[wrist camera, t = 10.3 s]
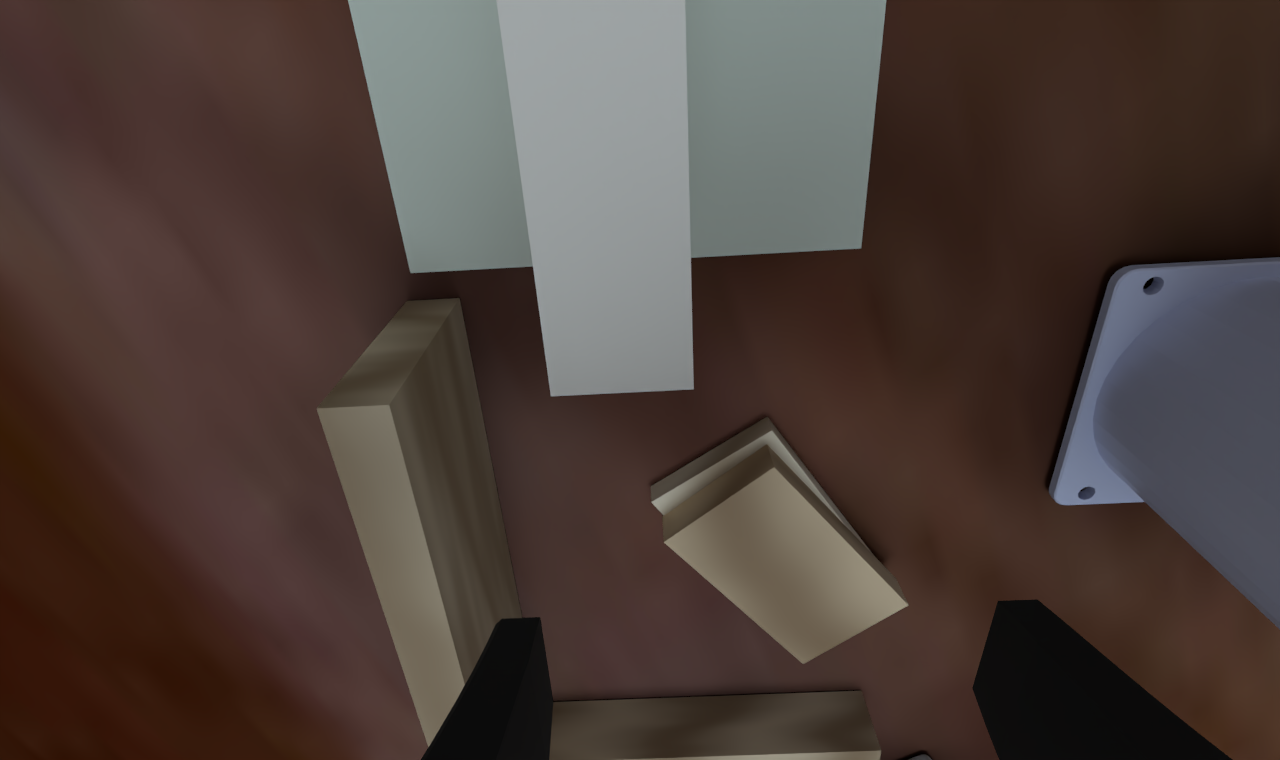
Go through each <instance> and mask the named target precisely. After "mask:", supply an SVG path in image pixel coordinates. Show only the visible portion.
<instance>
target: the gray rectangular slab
mask: <svg viewBox="0 0 1280 760" xmlns="http://www.w3.org/2000/svg"><path fill="white" fill-rule="evenodd" d="M496 2H497V9H498V16H499V23H500V31H501V38H502V45H503V52H504V60H505V67H506V74H507V81H508V89H509V96H510V103H511V111H512V118H513V125H514V132H515V140H516V147H517V154H518V161H519V169H520V176H521V183H522V191H523V198H524V205H525V212H526V220H527V227H528V234H529V241H530V249H531V256H532V263H533V270H534V278H535V285H536V292H537V300H538V307H539V314H540V321H541V329H542V336H543V343H544V350H545V358H546V365H547V372H548V379H549V387H550V394H551V396H569V395H589V394H609V393H630V392H650V391H670V390H690V389H694V381H693V335H692V289H691V243H690V197H689V151H688V105H687V59H686V13H685V0H496Z"/></svg>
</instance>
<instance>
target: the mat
mask: <svg viewBox="0 0 1280 760" xmlns="http://www.w3.org/2000/svg"><path fill="white" fill-rule="evenodd" d="M348 2H349V6H350V11H351V15H352V19H353V24H354V28H355V33H356V37H357V41H358V46H359V50H360V55H361V59H362V63H363V68H364V72H365V76H366V81H367V85H368V90H369V94H370V98H371V103H372V107H373V111H374V116H375V120H376V125H377V129H378V133H379V138H380V142H381V146H382V151H383V155H384V160H385V164H386V168H387V173H388V177H389V181H390V186H391V190H392V195H393V199H394V203H395V208H396V212H397V216H398V221H399V225H400V230H401V234H402V238H403V243H404V247H405V252H406V256H407V260H408V265H409V269H410V273H423V272H441V271H459V270H477V269H495V268H514V267H532V266H533V263H532V256H531V249H530V241H529V234H528V227H527V220H526V212H525V205H524V198H523V191H522V183H521V176H520V169H519V161H518V154H517V147H516V140H515V132H514V125H513V118H512V111H511V103H510V96H509V89H508V81H507V74H506V67H505V60H504V52H503V45H502V38H501V31H500V23H499V16H498V9H497V2H496V0H348ZM885 9H886V0H685V13H686V59H687V105H688V151H689V197H690V243H691V258H696V257H714V256H732V255H750V254H769V253H787V252H805V251H823V250H842V249H860V248H861V245H862V235H863V225H864V216H865V206H866V196H867V186H868V176H869V166H870V157H871V147H872V137H873V127H874V117H875V107H876V97H877V88H878V78H879V68H880V58H881V48H882V38H883V29H884V19H885Z"/></svg>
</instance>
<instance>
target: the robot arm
mask: <svg viewBox="0 0 1280 760" xmlns="http://www.w3.org/2000/svg"><path fill="white" fill-rule="evenodd" d="M1153 277H1154V281H1153V282H1152V284H1151V285H1150V286H1149V287H1148V288H1146V289H1143V286H1144V284H1145V283H1146V281H1148V280H1149V279H1150V278H1153ZM1084 487H1086V489H1084V490H1083V491H1080V490H1081V489H1083V488H1084ZM1049 494H1050V495H1051V497H1052V498H1053V499H1054V500H1055V501H1056V502H1057V503H1058V504H1060V505H1085V504H1107V503H1130V502H1146V503H1147V504H1148V505H1149V506H1150V507H1151V508H1152V509H1153V510H1154V511H1155V512H1156V513H1157V514H1158V515H1159V516H1161V517H1162V518H1163V519H1164V520H1165V521H1166V522H1167V523H1168V524H1169V525H1170V526H1171V527H1172V528H1173V529H1174V530H1175V531H1176V532H1177V533H1178V534H1180V535H1181V536H1182V537H1183V538H1184V539H1185V540H1186V541H1187V542H1188V543H1189V544H1190V545H1191V546H1192V547H1193V548H1194V549H1195V550H1196V551H1197V552H1199V553H1200V554H1201V555H1202V556H1203V557H1204V558H1205V559H1206V560H1207V561H1208V562H1209V563H1210V564H1211V565H1212V566H1213V567H1214V568H1215V569H1217V570H1218V571H1219V572H1220V573H1221V574H1222V575H1223V576H1224V577H1225V578H1226V579H1227V580H1228V581H1229V582H1230V583H1231V584H1232V585H1233V586H1234V587H1236V588H1237V589H1238V590H1239V591H1240V592H1241V593H1242V594H1243V595H1244V596H1245V597H1246V598H1247V599H1248V600H1249V601H1250V602H1251V603H1252V604H1253V605H1255V606H1256V607H1257V608H1258V609H1259V610H1260V611H1261V612H1262V613H1263V614H1264V615H1265V616H1266V617H1267V618H1268V619H1269V620H1270V621H1271V622H1272V623H1274V624H1275V625H1276V626H1277V627H1278V628H1279V629H1280V257H1274V258H1256V259H1237V260H1218V261H1200V262H1181V263H1162V264H1144V265H1130V266H1126V267H1123V268H1121V269H1119V270H1118V271H1116V272H1115V273H1114V274H1113V275H1112V277H1111V278H1110V280H1109V282H1108V285H1107V288H1106V292H1105V295H1104V299H1103V302H1102V306H1101V309H1100V313H1099V316H1098V319H1097V323H1096V326H1095V330H1094V333H1093V337H1092V340H1091V344H1090V347H1089V351H1088V354H1087V358H1086V361H1085V365H1084V368H1083V372H1082V375H1081V379H1080V382H1079V386H1078V389H1077V393H1076V396H1075V400H1074V403H1073V406H1072V410H1071V413H1070V417H1069V420H1068V424H1067V427H1066V431H1065V434H1064V438H1063V441H1062V445H1061V448H1060V452H1059V455H1058V459H1057V462H1056V466H1055V469H1054V473H1053V476H1052V480H1051V483H1050V487H1049ZM973 691H974V694H975V696H976V699H977V702H978V705H979V708H980V710H981V713H982V716H983V719H984V722H985V724H986V727H987V730H988V732H989V735H990V737H991V740H992V742H993V745H994V747H995V750H996V753H997V755H998V757H999V759H1000V760H1232V759H1231V758H1229V757H1228V756H1227V755H1226V754H1224V753H1223V752H1222V751H1220V750H1219V749H1218V748H1217V747H1215V746H1214V745H1213V744H1212V743H1210V742H1209V741H1208V740H1206V739H1205V738H1204V737H1203V736H1201V735H1200V734H1199V733H1197V732H1196V731H1195V730H1194V729H1192V728H1191V727H1190V726H1189V725H1187V724H1186V723H1185V722H1184V721H1183V720H1181V719H1180V718H1179V717H1178V716H1176V715H1175V714H1174V713H1173V712H1171V711H1170V710H1169V709H1168V708H1166V707H1165V706H1164V705H1163V704H1162V703H1160V702H1159V701H1158V700H1157V699H1155V698H1154V697H1153V696H1152V695H1151V694H1149V693H1148V692H1147V691H1146V690H1145V689H1143V688H1142V687H1141V686H1140V685H1139V684H1137V683H1136V682H1135V681H1134V680H1133V679H1131V678H1130V677H1129V676H1128V675H1127V674H1125V673H1124V672H1123V671H1122V670H1121V669H1119V668H1118V667H1117V666H1116V665H1115V664H1113V663H1112V662H1111V661H1110V660H1109V659H1108V658H1106V657H1105V656H1104V655H1103V654H1102V653H1100V652H1099V651H1098V650H1097V649H1096V648H1095V647H1093V646H1092V645H1091V644H1090V643H1089V642H1087V641H1086V640H1085V639H1084V638H1083V637H1082V636H1080V635H1079V634H1078V633H1077V632H1076V631H1074V630H1073V629H1072V628H1071V627H1070V626H1069V625H1067V624H1066V623H1065V622H1064V621H1063V620H1061V619H1060V618H1059V617H1058V616H1057V615H1055V614H1054V613H1053V612H1052V611H1051V610H1049V609H1048V608H1047V607H1046V606H1044V605H1043V604H1042V603H1041V602H1040V601H1038V600H1014V601H998V603H997V606H996V610H995V613H994V617H993V620H992V623H991V627H990V630H989V634H988V637H987V640H986V644H985V647H984V651H983V654H982V658H981V661H980V664H979V668H978V671H977V675H976V678H975V681H974V685H973ZM552 713H553V698H552V691H551V685H550V678H549V672H548V665H547V659H546V652H545V646H544V639H543V633H542V626H541V620H540V617H535V618H507V619H501V620H500V621H499V622H498V623H496V625H495V627H494V629H493V631H492V633H491V635H490V637H489V640H488V642H487V644H486V646H485V648H484V650H483V652H482V654H481V656H480V658H479V660H478V661H477V663H476V665H475V667H474V669H473V671H472V673H471V675H470V677H469V678H468V680H467V682H466V684H465V686H464V687H463V689H462V691H461V693H460V695H459V697H458V698H457V700H456V702H455V704H454V705H453V707H452V709H451V710H450V712H449V714H448V715H447V717H446V719H445V720H444V722H443V724H442V726H441V727H440V729H439V731H438V732H437V734H436V736H435V737H434V739H433V741H432V742H431V744H430V746H429V747H428V749H427V751H426V752H425V754H424V755H423V757H422V759H421V760H549V755H550V742H551V728H552Z"/></svg>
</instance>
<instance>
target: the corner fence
mask: <svg viewBox="0 0 1280 760" xmlns="http://www.w3.org/2000/svg"><path fill="white" fill-rule="evenodd" d="M317 411H318V414H319V418H320V421H321V424H322V427H323V430H324V433H325V436H326V439H327V442H328V445H329V448H330V451H331V454H332V457H333V460H334V463H335V466H336V469H337V472H338V475H339V478H340V481H341V484H342V487H343V490H344V493H345V496H346V499H347V502H348V505H349V508H350V511H351V514H352V517H353V520H354V523H355V526H356V529H357V532H358V535H359V539H360V542H361V545H362V548H363V551H364V554H365V557H366V560H367V563H368V566H369V569H370V572H371V575H372V578H373V581H374V584H375V587H376V590H377V593H378V596H379V599H380V602H381V605H382V608H383V611H384V614H385V617H386V620H387V623H388V626H389V629H390V632H391V635H392V638H393V641H394V644H395V647H396V650H397V653H398V656H399V660H400V663H401V666H402V669H403V672H404V675H405V678H406V681H407V684H408V687H409V690H410V693H411V696H412V699H413V702H414V705H415V708H416V711H417V714H418V717H419V720H420V723H421V726H422V729H423V732H424V735H425V738H426V741H427V744H428V747H429V746H430V744H431V742H432V741H433V739H434V737H435V736H436V734H437V732H438V731H439V729H440V727H441V726H442V724H443V722H444V720H445V719H446V717H447V715H448V714H449V712H450V710H451V709H452V707H453V705H454V704H455V702H456V700H457V698H458V697H459V695H460V693H461V691H462V689H463V687H464V686H465V684H466V682H467V680H468V678H469V677H470V675H471V673H472V671H473V669H474V667H475V665H476V663H477V661H478V660H479V658H480V656H481V654H482V652H483V650H484V648H485V646H486V644H487V642H488V640H489V637H490V635H491V633H492V631H493V629H494V627H495V625H496V623H498V622H499V621H500V620H501V619H507V618H522V614H521V609H520V604H519V599H518V594H517V589H516V584H515V578H514V573H513V568H512V563H511V558H510V553H509V548H508V543H507V538H506V532H505V527H504V522H503V517H502V512H501V507H500V502H499V497H498V492H497V487H496V481H495V476H494V471H493V466H492V461H491V456H490V451H489V446H488V441H487V435H486V430H485V425H484V420H483V415H482V410H481V405H480V400H479V395H478V389H477V384H476V379H475V374H474V369H473V364H472V359H471V354H470V349H469V344H468V338H467V333H466V328H465V323H464V318H463V313H462V308H461V303H460V298H451V299H433V300H414V301H407V302H406V303H405V304H404V305H403V306H402V308H401V309H400V310H399V311H398V312H397V314H396V315H395V316H394V317H393V318H392V319H391V321H390V322H389V323H388V324H387V325H386V327H385V328H384V329H383V330H382V331H381V333H380V334H379V335H378V336H377V337H376V338H375V340H374V341H373V342H372V343H371V344H370V346H369V347H368V348H367V349H366V350H365V352H364V353H363V354H362V355H361V356H360V357H359V359H358V360H357V361H356V362H355V363H354V365H353V366H352V367H351V368H350V369H349V371H348V372H347V373H346V374H345V375H344V376H343V378H342V379H341V380H340V381H339V382H338V384H337V385H336V386H335V387H334V388H333V390H332V391H331V392H330V393H329V394H328V396H327V397H326V398H325V399H324V400H323V401H322V403H321V404H320V405H319V406H318V407H317ZM880 755H881V748H880V745H879V742H878V739H877V736H876V733H875V730H874V727H873V724H872V721H871V718H870V715H869V712H868V709H867V706H866V703H865V700H864V697H863V694H862V691H838V692H811V693H785V694H758V695H731V696H704V697H677V698H650V699H623V700H596V701H569V702H553V713H552V728H551V742H550V755H549V760H880Z"/></svg>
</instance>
